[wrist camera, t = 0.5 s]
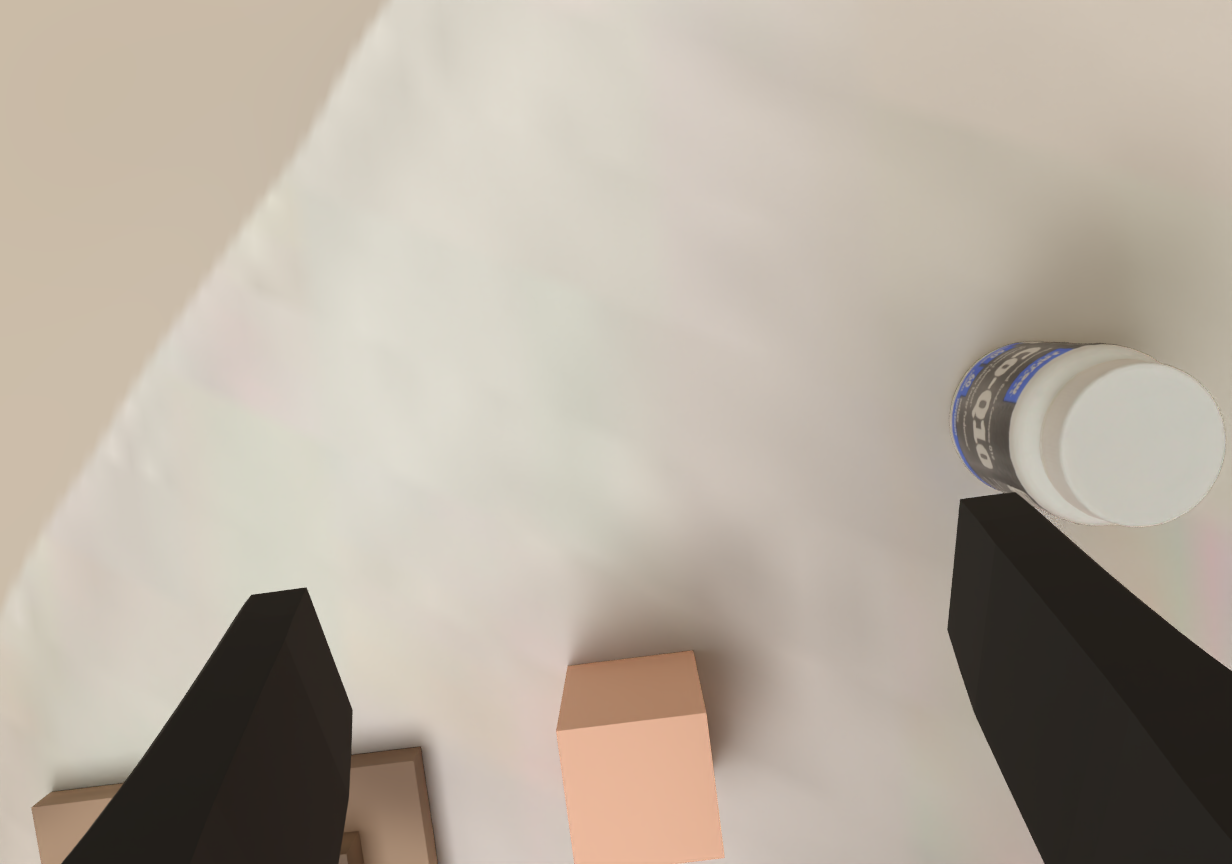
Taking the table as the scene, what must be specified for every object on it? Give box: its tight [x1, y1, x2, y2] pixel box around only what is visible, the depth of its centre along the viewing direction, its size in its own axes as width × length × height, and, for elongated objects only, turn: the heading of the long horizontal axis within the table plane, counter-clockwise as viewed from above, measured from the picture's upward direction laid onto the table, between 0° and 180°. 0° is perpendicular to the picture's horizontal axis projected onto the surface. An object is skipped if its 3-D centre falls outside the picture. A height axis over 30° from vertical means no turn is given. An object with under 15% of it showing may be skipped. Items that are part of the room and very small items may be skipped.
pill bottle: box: [949, 341, 1226, 527], centre depth 31 cm, size 5×5×8 cm
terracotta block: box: [556, 650, 725, 864], centre depth 33 cm, size 4×4×6 cm
